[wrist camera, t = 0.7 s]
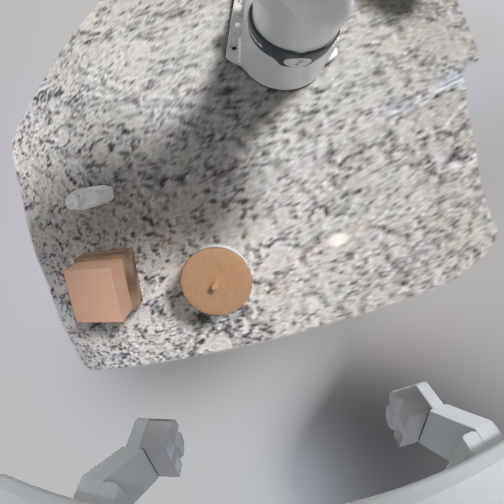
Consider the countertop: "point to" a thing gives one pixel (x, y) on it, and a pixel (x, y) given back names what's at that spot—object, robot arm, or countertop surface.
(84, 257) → the walnut base block
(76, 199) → the eye dropper bottle
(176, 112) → the countertop surface
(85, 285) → the terracotta top block
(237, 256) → the lidded jar
